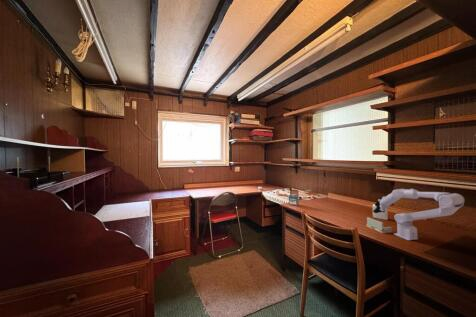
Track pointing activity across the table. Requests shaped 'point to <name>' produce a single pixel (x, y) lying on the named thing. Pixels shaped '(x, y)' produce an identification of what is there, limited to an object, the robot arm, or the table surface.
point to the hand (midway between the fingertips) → (375, 208)
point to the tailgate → (375, 223)
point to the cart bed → (385, 230)
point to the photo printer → (380, 214)
